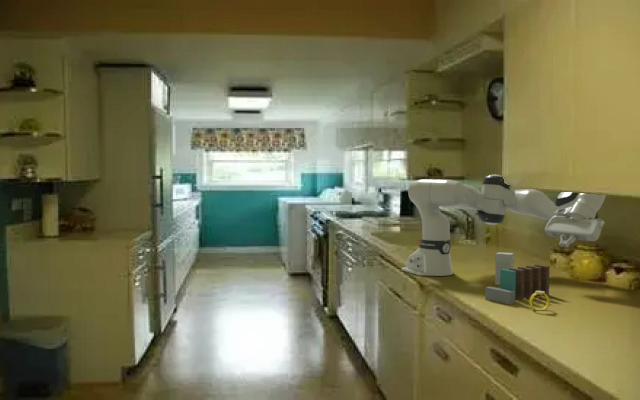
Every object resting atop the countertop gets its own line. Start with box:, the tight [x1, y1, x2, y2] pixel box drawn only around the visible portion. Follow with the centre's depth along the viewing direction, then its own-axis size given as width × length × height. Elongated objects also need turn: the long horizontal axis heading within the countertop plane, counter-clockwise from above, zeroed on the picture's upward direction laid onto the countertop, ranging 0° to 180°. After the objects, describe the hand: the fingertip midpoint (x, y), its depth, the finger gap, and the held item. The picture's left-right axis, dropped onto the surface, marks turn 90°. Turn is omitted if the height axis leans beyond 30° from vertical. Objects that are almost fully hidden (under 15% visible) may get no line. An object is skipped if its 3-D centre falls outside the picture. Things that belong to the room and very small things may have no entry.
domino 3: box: [517, 266, 533, 299], centre depth 214 cm, size 2×5×10 cm, turn 34°
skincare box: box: [494, 252, 515, 286], centre depth 236 cm, size 6×4×12 cm
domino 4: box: [525, 265, 542, 297], centre depth 217 cm, size 2×5×10 cm, turn 35°
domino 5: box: [533, 264, 550, 296], centre depth 219 cm, size 2×5×10 cm, turn 35°
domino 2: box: [509, 267, 525, 301], centre depth 212 cm, size 2×5×10 cm, turn 34°
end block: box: [484, 286, 516, 305], centre depth 207 cm, size 10×2×4 cm, turn 35°
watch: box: [529, 291, 551, 311], centre depth 195 cm, size 6×3×6 cm, turn 96°
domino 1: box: [499, 269, 516, 302], centre depth 209 cm, size 2×5×10 cm, turn 35°
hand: (563, 245), depth 225 cm, fingers closed
